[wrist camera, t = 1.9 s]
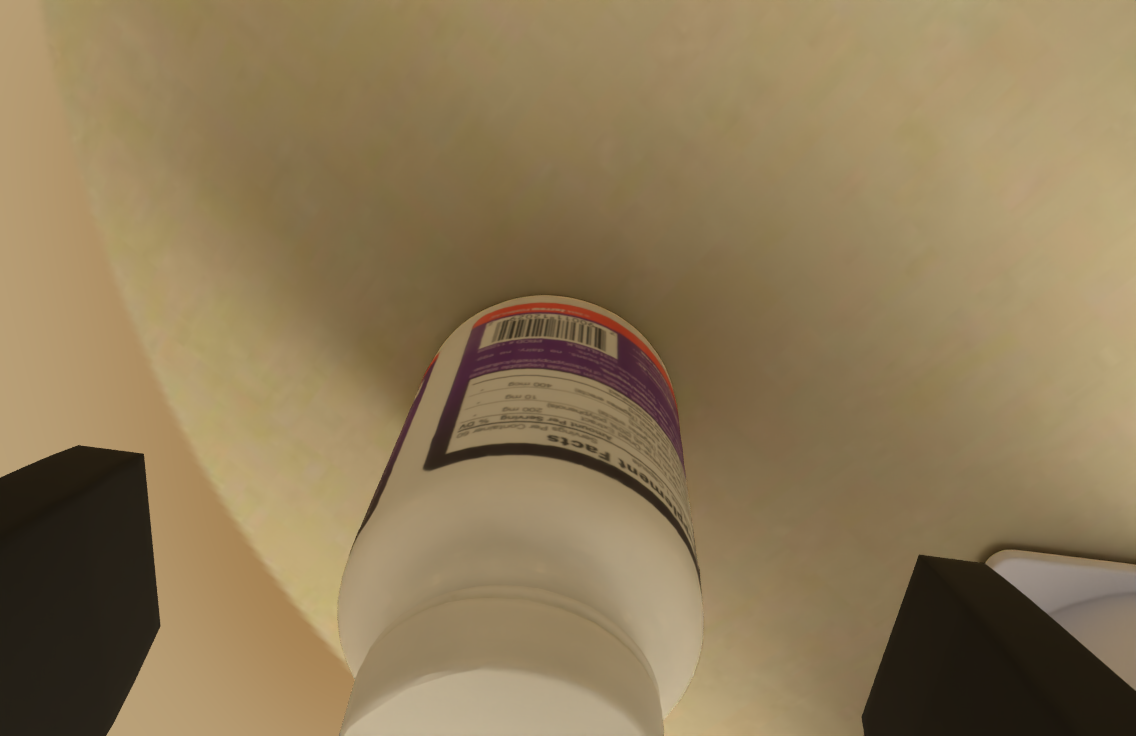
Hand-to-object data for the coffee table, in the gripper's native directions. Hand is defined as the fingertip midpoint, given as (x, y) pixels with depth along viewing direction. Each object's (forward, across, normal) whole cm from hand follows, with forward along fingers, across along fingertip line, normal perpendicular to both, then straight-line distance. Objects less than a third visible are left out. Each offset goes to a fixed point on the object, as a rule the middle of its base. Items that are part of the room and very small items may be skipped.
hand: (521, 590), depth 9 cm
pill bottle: (+11, 0, +4) cm, 11 cm away
